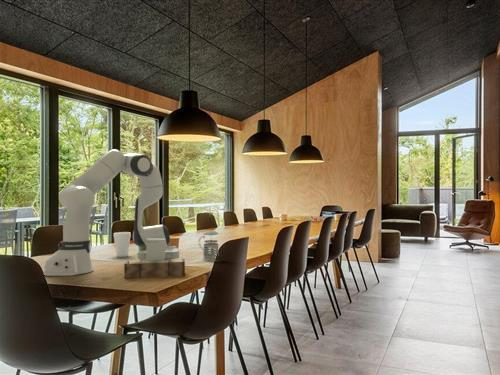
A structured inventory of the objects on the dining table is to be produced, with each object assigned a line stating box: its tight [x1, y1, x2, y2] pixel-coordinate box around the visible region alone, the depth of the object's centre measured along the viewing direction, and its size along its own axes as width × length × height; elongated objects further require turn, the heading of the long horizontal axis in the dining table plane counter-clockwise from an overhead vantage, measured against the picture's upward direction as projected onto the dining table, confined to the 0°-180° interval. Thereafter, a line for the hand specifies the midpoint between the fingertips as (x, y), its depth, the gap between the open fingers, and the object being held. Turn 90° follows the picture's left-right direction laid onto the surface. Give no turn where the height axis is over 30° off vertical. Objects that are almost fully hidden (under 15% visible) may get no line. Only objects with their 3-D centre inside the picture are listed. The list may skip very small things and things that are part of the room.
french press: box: [198, 212, 220, 262], centre depth 227 cm, size 10×12×25 cm
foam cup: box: [113, 231, 132, 258], centre depth 242 cm, size 10×9×13 cm
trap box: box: [123, 258, 186, 279], centre depth 184 cm, size 25×9×7 cm, turn 99°
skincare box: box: [145, 238, 166, 262], centre depth 186 cm, size 8×7×16 cm
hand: (157, 256), depth 202 cm, fingers closed
